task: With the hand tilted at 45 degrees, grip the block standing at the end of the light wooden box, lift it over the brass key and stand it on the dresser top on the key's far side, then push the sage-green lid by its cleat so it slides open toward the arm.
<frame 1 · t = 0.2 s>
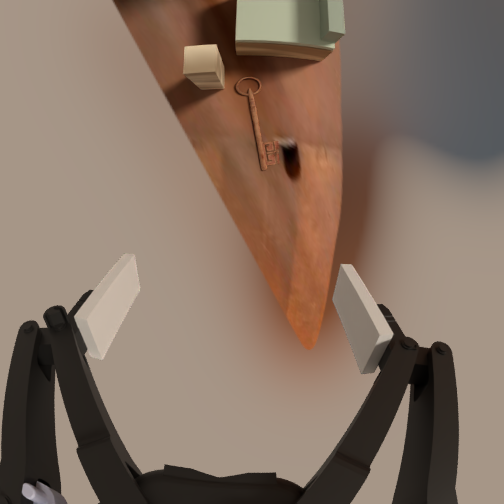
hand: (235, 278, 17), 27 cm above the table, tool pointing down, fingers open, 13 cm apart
light wooden box: (280, 25, 30), on the table
block: (212, 78, 34), on the table
lid: (288, 2, 22), point 9 cm above the table, slide at 0.0 cm
key: (261, 121, 38), on the table
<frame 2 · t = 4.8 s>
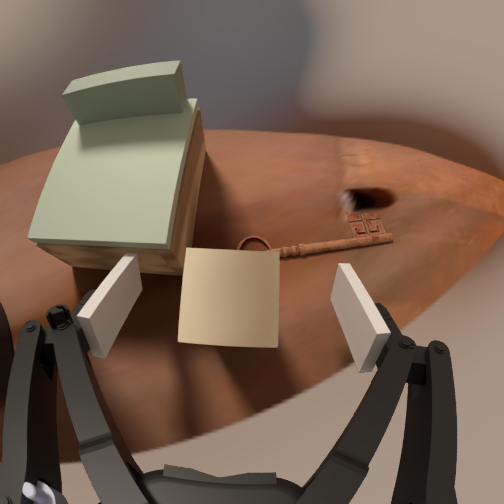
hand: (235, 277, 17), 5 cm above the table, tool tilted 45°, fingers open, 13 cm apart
light wooden box: (136, 204, 24), on the table
block: (235, 321, 21), on the table
lid: (100, 146, 16), point 9 cm above the table, slide at 0.0 cm
key: (317, 239, 24), on the table
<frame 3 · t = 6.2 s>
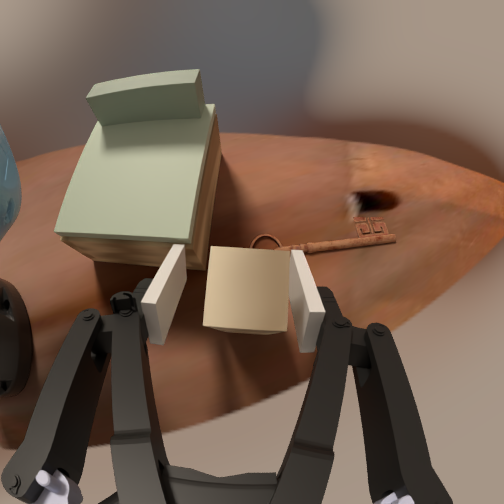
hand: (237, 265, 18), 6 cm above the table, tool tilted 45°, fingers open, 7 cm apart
light wooden box: (156, 203, 26), on the table
block: (247, 313, 23), on the table
lid: (125, 148, 18), point 9 cm above the table, slide at -0.2 cm
key: (325, 238, 26), on the table
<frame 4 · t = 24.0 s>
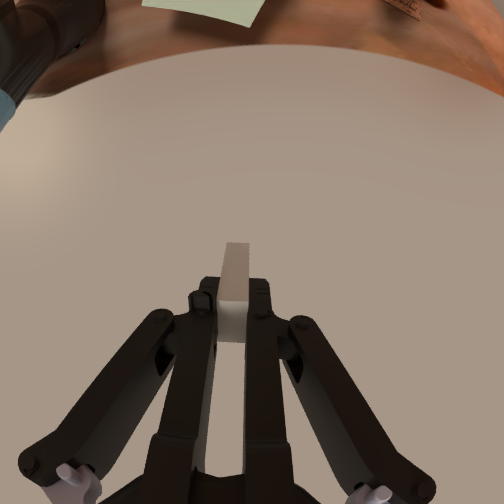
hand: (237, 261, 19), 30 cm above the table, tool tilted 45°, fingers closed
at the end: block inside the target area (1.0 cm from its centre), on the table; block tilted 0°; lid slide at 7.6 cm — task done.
